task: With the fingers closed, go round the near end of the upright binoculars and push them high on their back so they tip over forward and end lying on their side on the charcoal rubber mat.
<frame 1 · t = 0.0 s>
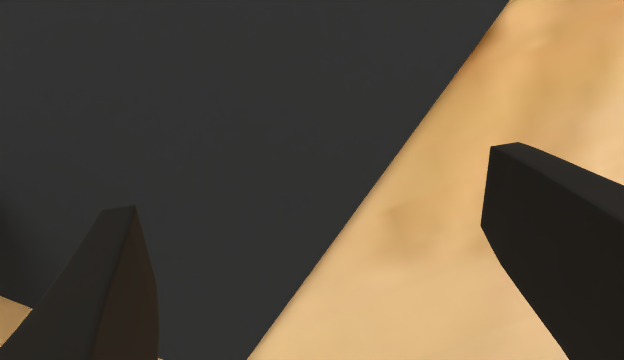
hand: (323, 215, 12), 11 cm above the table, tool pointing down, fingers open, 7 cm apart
mat: (106, 20, 20), on the table
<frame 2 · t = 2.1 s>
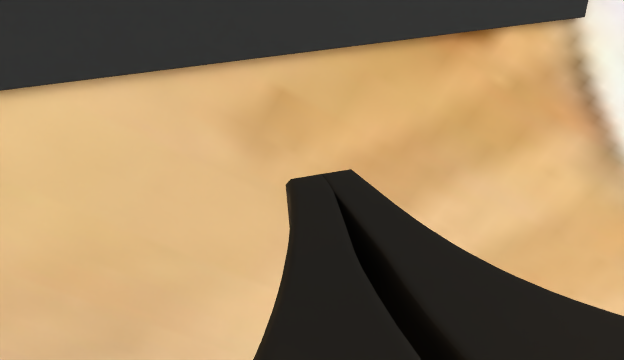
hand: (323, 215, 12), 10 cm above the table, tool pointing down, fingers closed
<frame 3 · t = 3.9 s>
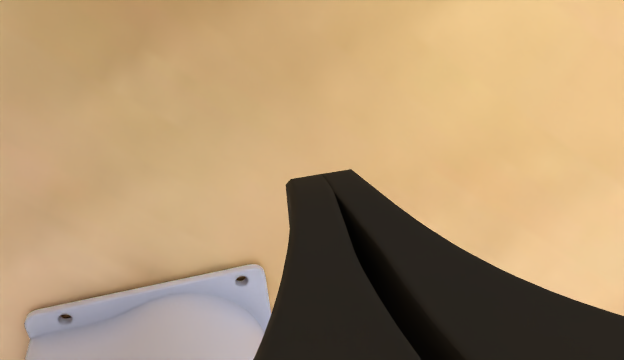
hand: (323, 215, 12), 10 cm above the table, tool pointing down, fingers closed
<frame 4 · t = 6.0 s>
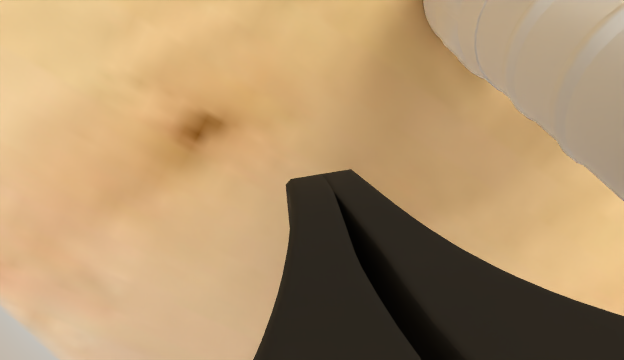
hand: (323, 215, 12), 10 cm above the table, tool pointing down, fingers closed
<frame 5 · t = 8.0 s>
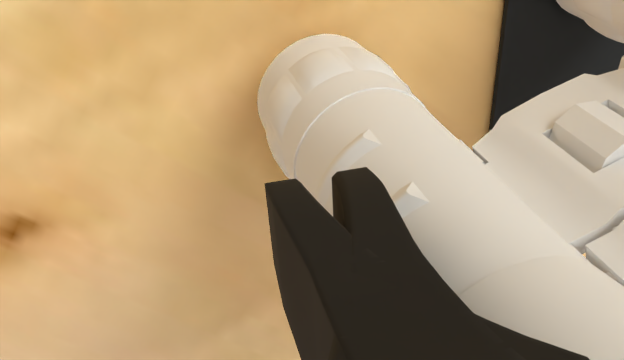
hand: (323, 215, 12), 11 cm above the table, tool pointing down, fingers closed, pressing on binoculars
binoculars: (460, 22, 22), point 1 cm above the table, touching gripper, mat
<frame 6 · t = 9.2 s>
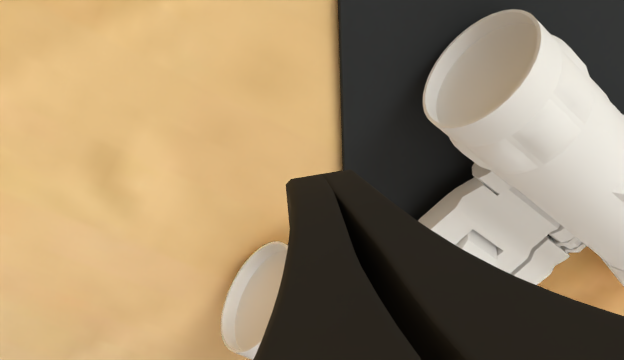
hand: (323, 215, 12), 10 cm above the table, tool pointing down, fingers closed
binoculars: (352, 188, 21), point 3 cm above the table, touching mat
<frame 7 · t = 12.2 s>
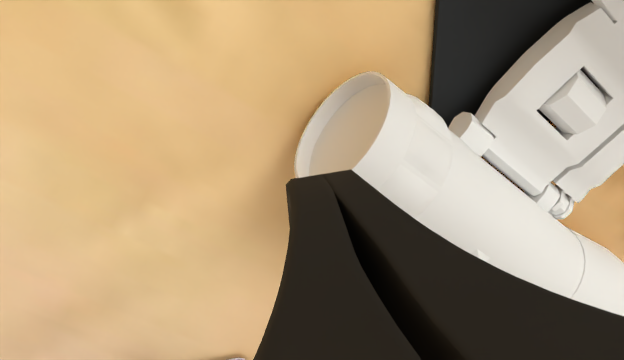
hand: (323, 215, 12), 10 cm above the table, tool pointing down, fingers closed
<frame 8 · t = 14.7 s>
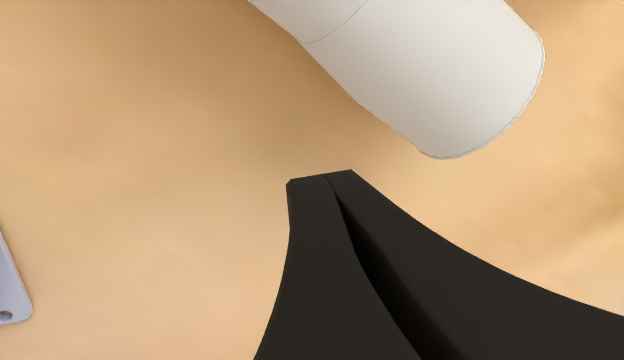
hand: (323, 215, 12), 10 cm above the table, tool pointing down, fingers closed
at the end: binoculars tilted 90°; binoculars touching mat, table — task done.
